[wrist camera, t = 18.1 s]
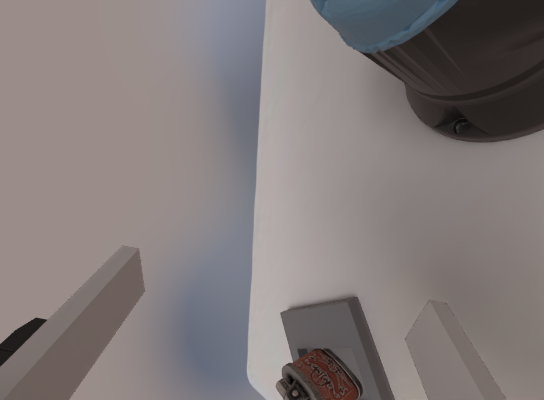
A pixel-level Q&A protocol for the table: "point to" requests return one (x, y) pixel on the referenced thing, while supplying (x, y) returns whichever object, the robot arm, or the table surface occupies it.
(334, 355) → the lighter
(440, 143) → the table surface
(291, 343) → the dock
